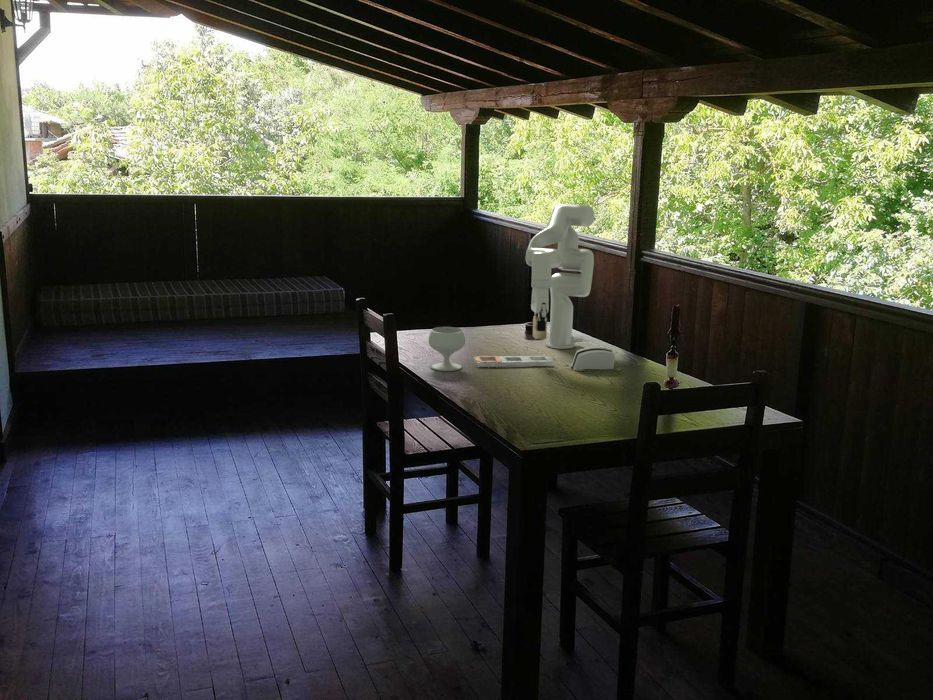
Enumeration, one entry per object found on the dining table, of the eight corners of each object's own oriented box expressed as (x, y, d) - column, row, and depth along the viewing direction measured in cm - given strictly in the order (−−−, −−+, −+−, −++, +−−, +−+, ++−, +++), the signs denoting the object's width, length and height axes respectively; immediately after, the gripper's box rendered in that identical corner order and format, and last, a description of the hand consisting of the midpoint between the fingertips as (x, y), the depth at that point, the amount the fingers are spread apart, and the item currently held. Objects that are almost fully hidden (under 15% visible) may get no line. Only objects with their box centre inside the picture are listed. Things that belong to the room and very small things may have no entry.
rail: (547, 360, 352) (547, 354, 352) (553, 366, 342) (553, 360, 342) (473, 361, 347) (473, 356, 347) (477, 367, 338) (477, 362, 337)
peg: (543, 335, 347) (544, 316, 345) (546, 338, 343) (547, 318, 341) (532, 336, 347) (533, 316, 345) (535, 338, 342) (535, 318, 340)
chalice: (457, 362, 346) (458, 325, 342) (469, 371, 333) (470, 332, 329) (423, 365, 341) (423, 327, 338) (434, 373, 328) (435, 334, 325)
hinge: (609, 365, 345) (614, 344, 340) (613, 372, 341) (618, 350, 336) (569, 367, 341) (573, 345, 336) (572, 374, 338) (577, 352, 332)
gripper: (526, 279, 347) (525, 325, 351) (536, 287, 331) (535, 334, 335) (545, 279, 348) (543, 324, 353) (556, 286, 332) (554, 334, 336)
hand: (539, 328), depth 344 cm, fingers closed on peg, 4 cm apart
